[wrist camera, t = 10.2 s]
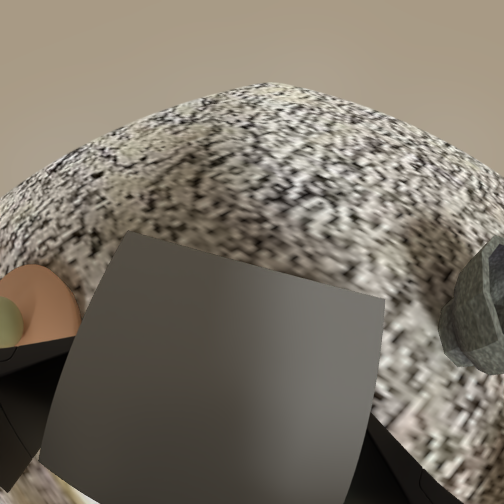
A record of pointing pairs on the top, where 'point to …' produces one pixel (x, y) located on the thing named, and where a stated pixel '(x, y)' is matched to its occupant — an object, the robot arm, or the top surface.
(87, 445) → the grey tall block
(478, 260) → the mortar and pestle
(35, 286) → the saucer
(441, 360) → the top surface
